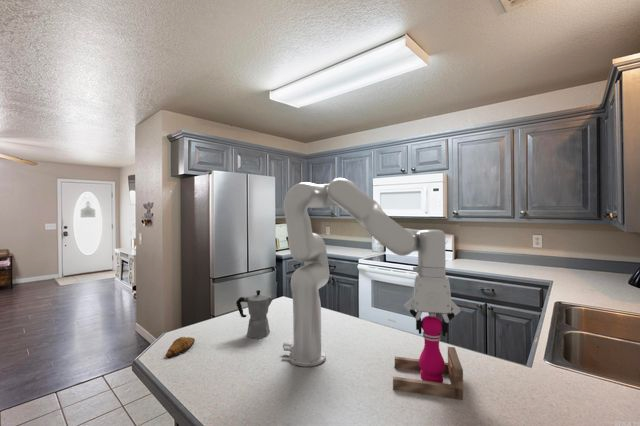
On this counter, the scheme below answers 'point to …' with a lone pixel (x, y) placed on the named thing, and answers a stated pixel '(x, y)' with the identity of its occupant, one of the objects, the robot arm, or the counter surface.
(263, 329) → the coffeepot
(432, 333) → the pepper mill
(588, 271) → the counter surface
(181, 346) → the croissant
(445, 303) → the robot arm
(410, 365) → the spice rack
